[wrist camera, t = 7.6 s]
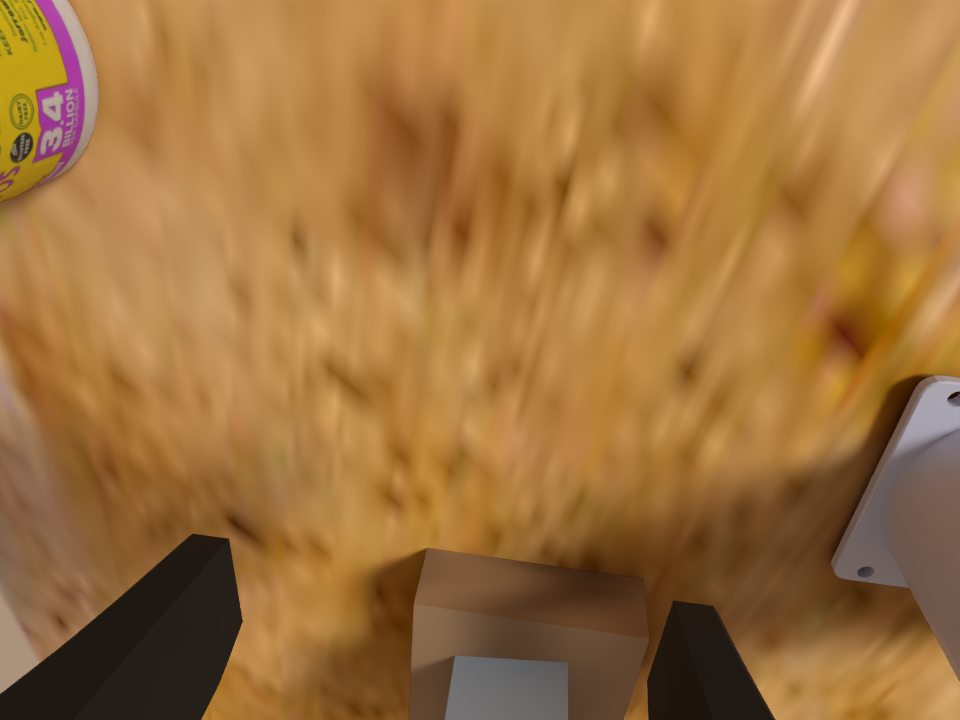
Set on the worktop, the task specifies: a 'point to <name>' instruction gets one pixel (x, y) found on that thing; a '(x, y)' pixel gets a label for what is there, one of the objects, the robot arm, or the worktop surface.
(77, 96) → the supplement bottle
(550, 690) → the gray block
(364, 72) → the worktop surface
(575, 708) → the walnut block
